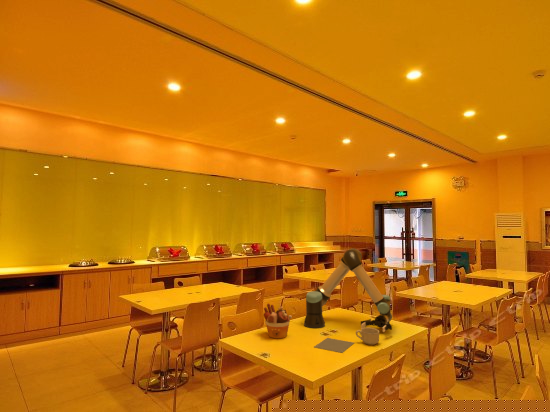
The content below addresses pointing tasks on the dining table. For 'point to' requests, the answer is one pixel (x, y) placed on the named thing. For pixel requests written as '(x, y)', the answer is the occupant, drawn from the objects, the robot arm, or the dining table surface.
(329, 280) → the robot arm
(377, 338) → the teacup
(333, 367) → the dining table surface
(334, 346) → the placemat
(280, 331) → the bucket of meat
